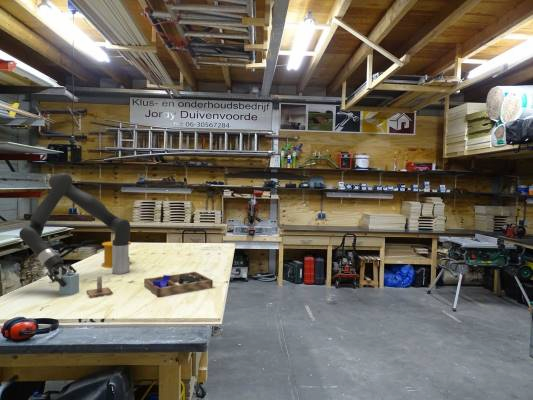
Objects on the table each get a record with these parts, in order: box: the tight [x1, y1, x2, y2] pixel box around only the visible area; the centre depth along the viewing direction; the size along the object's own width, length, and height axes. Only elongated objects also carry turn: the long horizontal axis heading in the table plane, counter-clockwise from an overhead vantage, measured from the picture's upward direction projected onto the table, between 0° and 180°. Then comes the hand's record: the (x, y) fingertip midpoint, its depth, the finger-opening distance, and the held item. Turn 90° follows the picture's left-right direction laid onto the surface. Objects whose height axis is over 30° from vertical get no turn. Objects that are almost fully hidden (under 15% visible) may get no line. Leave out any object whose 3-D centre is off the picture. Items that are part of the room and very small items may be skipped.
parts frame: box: [143, 271, 214, 298], centre depth 184 cm, size 30×21×4 cm
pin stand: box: [85, 276, 114, 299], centre depth 170 cm, size 10×10×8 cm
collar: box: [58, 273, 80, 296], centre depth 170 cm, size 6×6×9 cm
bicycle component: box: [177, 275, 204, 285], centre depth 189 cm, size 12×7×15 cm
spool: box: [101, 240, 132, 269], centre depth 232 cm, size 18×18×15 cm
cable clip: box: [153, 274, 170, 288], centre depth 178 cm, size 12×4×6 cm, turn 170°
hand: (71, 283), depth 170 cm, fingers open, 8 cm apart
